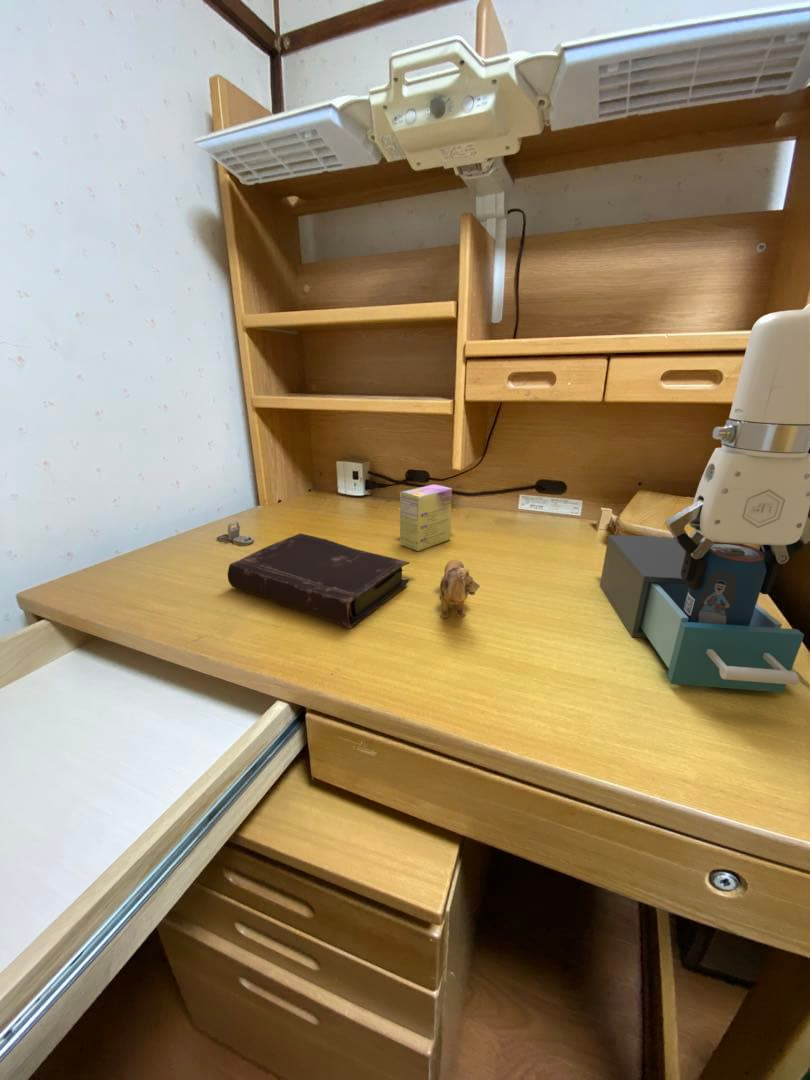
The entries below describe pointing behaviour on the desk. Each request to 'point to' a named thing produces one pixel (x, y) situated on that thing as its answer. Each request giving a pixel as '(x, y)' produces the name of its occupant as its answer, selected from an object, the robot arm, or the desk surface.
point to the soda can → (727, 586)
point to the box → (425, 516)
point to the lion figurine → (456, 587)
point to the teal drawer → (719, 645)
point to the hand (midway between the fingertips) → (723, 586)
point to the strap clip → (235, 536)
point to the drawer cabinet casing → (638, 573)
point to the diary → (320, 577)
